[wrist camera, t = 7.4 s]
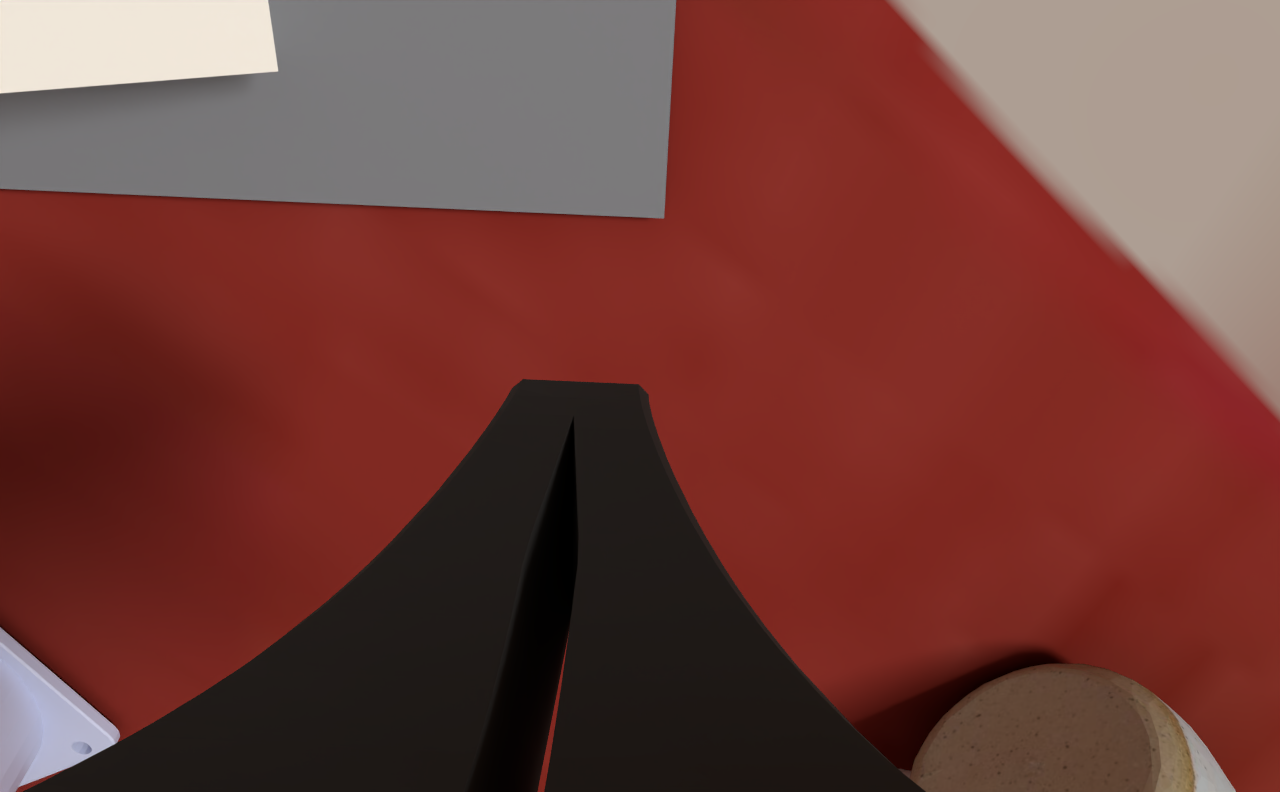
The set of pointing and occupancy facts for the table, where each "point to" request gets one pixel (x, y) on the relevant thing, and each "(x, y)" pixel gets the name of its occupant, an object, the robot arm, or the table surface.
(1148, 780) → the ceramic mug
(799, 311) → the table surface
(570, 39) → the mat
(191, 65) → the domino
